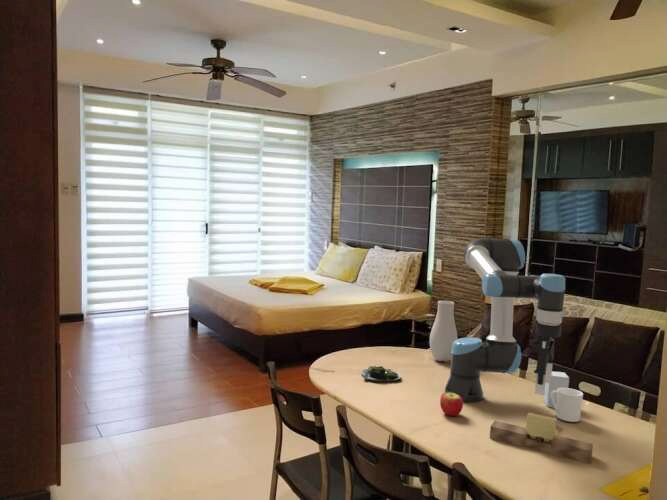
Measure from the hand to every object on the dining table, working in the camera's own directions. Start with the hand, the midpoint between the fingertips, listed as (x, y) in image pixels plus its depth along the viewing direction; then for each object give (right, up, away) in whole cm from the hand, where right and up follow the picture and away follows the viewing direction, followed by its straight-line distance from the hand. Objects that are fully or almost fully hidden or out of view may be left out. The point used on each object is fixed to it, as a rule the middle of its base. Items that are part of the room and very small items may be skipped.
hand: (543, 388), depth 166 cm
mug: (+18, -18, +26) cm, 37 cm away
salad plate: (-46, -13, +64) cm, 80 cm away
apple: (-24, -16, +24) cm, 38 cm away
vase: (-12, -12, +96) cm, 97 cm away
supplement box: (+21, -18, +40) cm, 48 cm away
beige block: (-1, -18, 0) cm, 18 cm away
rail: (-1, -19, 0) cm, 19 cm away
